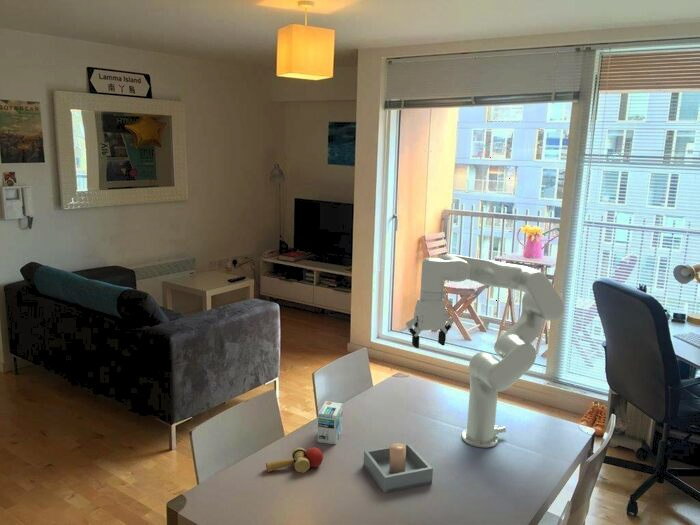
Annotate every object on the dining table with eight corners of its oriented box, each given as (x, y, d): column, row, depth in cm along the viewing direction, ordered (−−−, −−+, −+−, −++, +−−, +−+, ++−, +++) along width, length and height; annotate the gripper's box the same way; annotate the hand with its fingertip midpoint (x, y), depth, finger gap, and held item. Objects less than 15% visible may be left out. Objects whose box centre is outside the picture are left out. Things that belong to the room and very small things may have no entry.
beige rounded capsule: (402, 465, 181) (402, 442, 179) (407, 473, 176) (408, 449, 174) (387, 467, 179) (387, 443, 178) (392, 475, 175) (392, 451, 173)
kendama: (270, 483, 173) (327, 468, 177) (266, 463, 172) (323, 448, 177) (266, 474, 180) (321, 460, 185) (263, 454, 180) (318, 441, 185)
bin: (408, 457, 188) (408, 443, 187) (431, 483, 173) (433, 468, 172) (363, 465, 182) (364, 450, 181) (384, 493, 167) (385, 477, 167)
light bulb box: (335, 445, 194) (336, 415, 192) (316, 442, 195) (317, 413, 193) (342, 430, 204) (343, 402, 202) (324, 428, 206) (325, 400, 204)
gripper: (448, 291, 192) (445, 339, 195) (402, 294, 186) (400, 344, 189) (460, 296, 185) (457, 346, 188) (413, 300, 179) (410, 351, 182)
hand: (428, 345), depth 188 cm, fingers open, 9 cm apart
